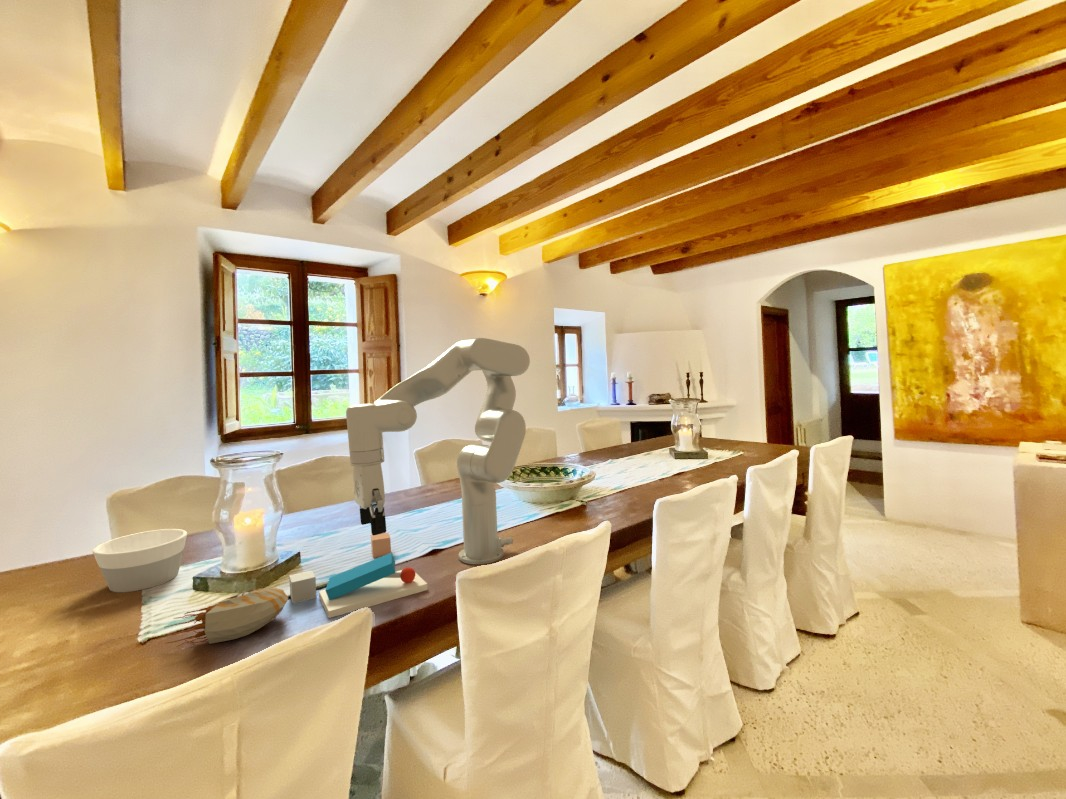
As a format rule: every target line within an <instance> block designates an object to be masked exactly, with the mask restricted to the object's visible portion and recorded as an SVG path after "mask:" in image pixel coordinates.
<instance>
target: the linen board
mask: <svg viewBox="0 0 1066 799" xmlns="http://www.w3.org/2000/svg"><path fill="white" fill-rule="evenodd" d="M402 570H403V569H401V570H395V572H401V571H402ZM325 590H326V588H325V589H322V590H318V596H319V597H318V598H319V599H320V600H319V601H320V602H321V604H322V606H323V609H324V610H325V612H326V615H327V617H328V618H329V619H331V618H334V617H337V616H342V615H344V614H347V613H348V614H349V613H351V612H356V611H358V610H357V609H359V610H361V609H360V608H363V609H365V608H364V607H366V608H369V607H372V606H376V605H379V604H384V603H386V602H390V601H393V600H397V599H401V598H405V597H408V596H410V595H411V596H412V595H414V594H418V593H421V592H425V591H428V582H426V581H425V580H424V578H422V577H421V576H420V575H419V574H418V573H417V572H416V571H415V578H414V580H413V581H412V582H410V583H405V582H403V581H402V580H401V578H382V579H380V580H377V581H375V582H372V583H370V584H368V585H365V586H363V587H360V588H358V589H356V590H353V591H351V592H349V593H346V594H344V595H341V596H339V597H337V598H334V599H332V600H329V598H328V596H327V593H326V591H325ZM355 610H356V611H355Z"/></svg>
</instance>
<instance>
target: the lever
mask: <svg viewBox="0 0 1066 799" xmlns="http://www.w3.org/2000/svg"><path fill="white" fill-rule="evenodd" d="M401 570H402V571H401V572H396V561H395V558H394V555H393V553H392V552H391V553H389V554H387V555H384V556H378V557H376V558H374V559H372V560H370V561H367V562H365V563H363V564H360V565H358V566H354V567H353V568H350V569H348V570H345V571H343V572H340V573H337V574H335V575H333V576H330V577H329V578H328V582H327V583H326V588H325V589H326V590H325V589H324V590H325V591H326V593H327V596H328V598H329V600H332V599H334V598H337V597H339V596H341V595H344V594H346V593H349V592H351V591H353V590H356V589H358V588H360V587H363V586H365V585H368V584H370V583H372V582H375V581H377V580H380V579H382V578H401V580H402V581H403V582H405V583H410V582H412V581H413V580H414V578H415V572H416V571H415V569H413V568H412V567H409V566H408V567H405V568H403V569H401Z"/></svg>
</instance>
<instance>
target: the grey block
mask: <svg viewBox="0 0 1066 799" xmlns="http://www.w3.org/2000/svg"><path fill="white" fill-rule="evenodd" d="M288 578H289V580H288V581H289V593H290V594H289V595H290V599H291V602H292V604H297V603H300V602H301V603H302V602H305V601H308V600H313V599H316V598H317V584H316V583H317V581H316V575H315V573H314V571H313V569H312V570H311V569H310V570H307V571H302V572H298V573H293V574H289V577H288Z"/></svg>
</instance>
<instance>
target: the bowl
mask: <svg viewBox="0 0 1066 799" xmlns="http://www.w3.org/2000/svg"><path fill="white" fill-rule="evenodd" d="M187 537H188V532H187V531H186V530H185V529H181V528H180V529H179V528H162V529H152V530H145V531H141V532H137V533H132V534H127V535H123V536H119V537H116V538H112V539H110V540H107V541H104V542H103V543H100V544H98V545H97V546H95V547H94V548H93V549H92V551H91V552H92V554H93V556H94V559H95V561H96V563H97V565H98V567H99V569H100V571H101V575H102V576H103V578H104V580H105V582H106V584H107V586H108V589H109V591H111V592H113V593H129V592H137V591H141V590H146V589H151V588H153V587H157V586H159V585H162V584H165V583H167V582H170V581H171V580H173V579H175V578H176V577H177V576H178V575H179V572H180V567H181V564H182V563H181V562H182V560H183V559H182V557H183V555H184V554H183V553H184V549H185V545H186V541H187Z"/></svg>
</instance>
